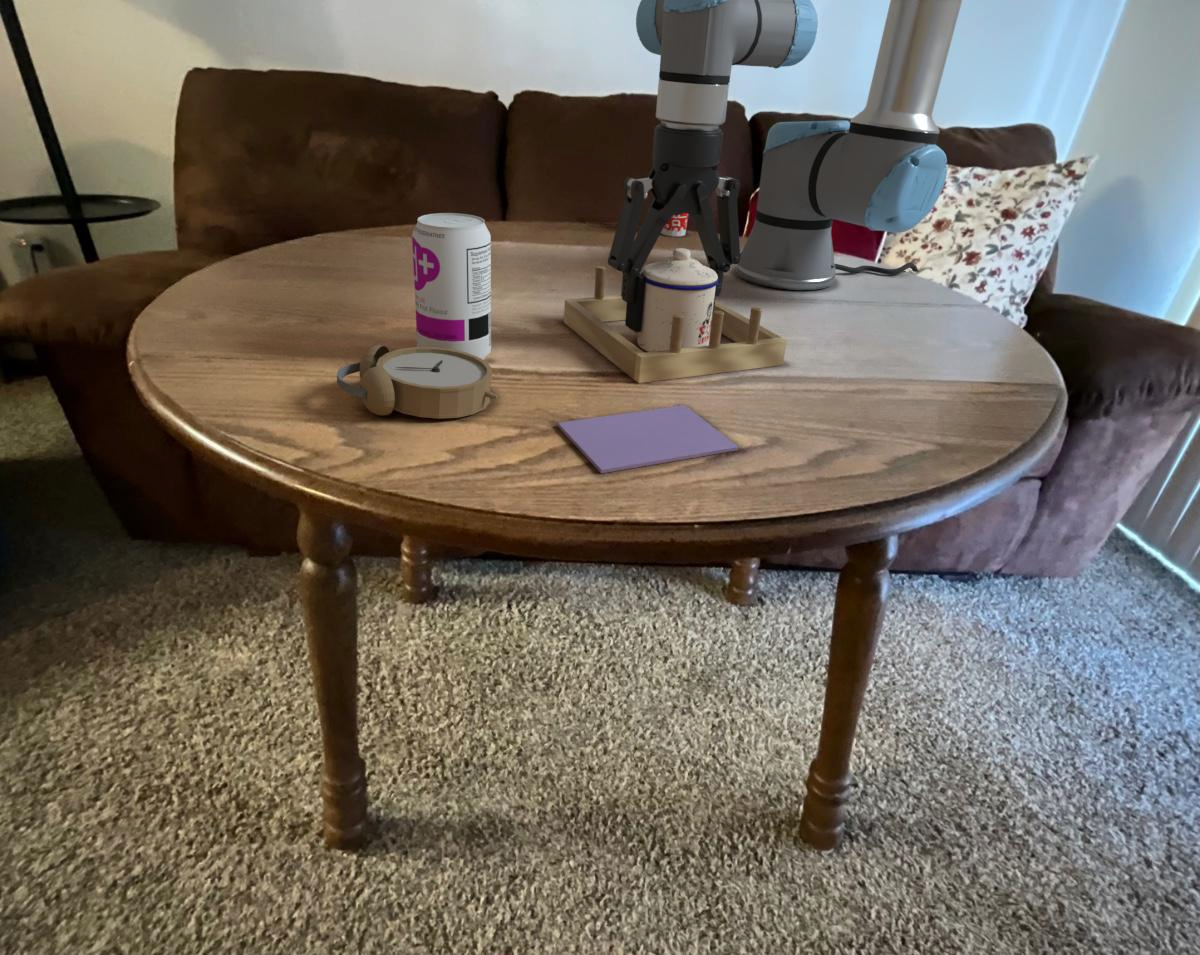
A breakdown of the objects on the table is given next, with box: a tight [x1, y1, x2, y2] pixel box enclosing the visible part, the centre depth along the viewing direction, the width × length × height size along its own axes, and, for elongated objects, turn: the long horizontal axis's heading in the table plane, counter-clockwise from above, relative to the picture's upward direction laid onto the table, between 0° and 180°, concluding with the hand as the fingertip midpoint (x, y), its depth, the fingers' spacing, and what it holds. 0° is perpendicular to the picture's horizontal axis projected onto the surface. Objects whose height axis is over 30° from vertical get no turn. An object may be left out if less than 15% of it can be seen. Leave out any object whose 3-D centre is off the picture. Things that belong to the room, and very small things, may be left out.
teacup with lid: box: [637, 247, 719, 352], centre depth 101 cm, size 12×9×12 cm
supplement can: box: [411, 212, 492, 361], centre depth 92 cm, size 8×8×15 cm
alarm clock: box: [336, 344, 498, 420], centre depth 83 cm, size 11×5×15 cm
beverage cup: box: [660, 209, 690, 237], centre depth 154 cm, size 6×6×14 cm
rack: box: [563, 265, 788, 384], centre depth 102 cm, size 19×21×7 cm
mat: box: [557, 404, 739, 474], centre depth 79 cm, size 14×10×1 cm
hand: (669, 324), depth 102 cm, fingers closed on teacup with lid, 9 cm apart
